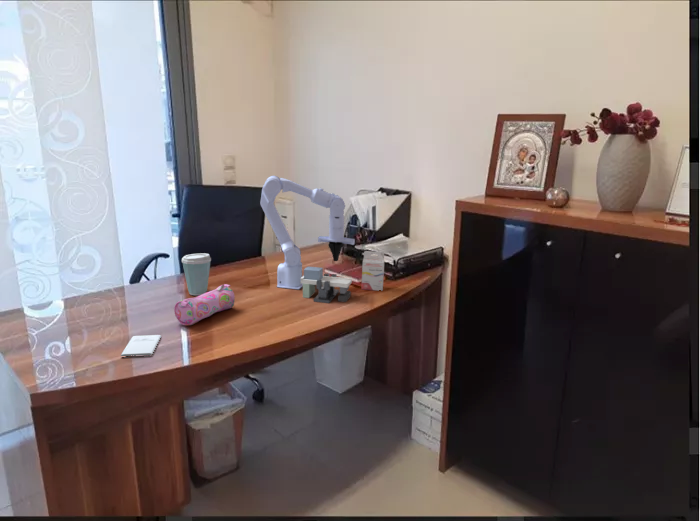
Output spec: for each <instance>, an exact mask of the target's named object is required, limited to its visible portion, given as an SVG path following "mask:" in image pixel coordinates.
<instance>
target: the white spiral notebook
mask: <svg viewBox="0 0 700 521" xmlns="http://www.w3.org/2000/svg"><path fill="white" fill-rule="evenodd" d="M160 338H162V335H160V334H151V335H148V334H146V335H133V336H132V337H131V338H130V339H129V341H128V343H127V344H126V347H125V348H124V349H123V351H122V352H121V355H120V357H121V356H131V355H132V356H133V355H134V356H136V355H152V354H153V355H154V353H155V351H156V349H157V347H158V345H159V343H160V341H161V339H160ZM159 340H160V341H159ZM158 342H159V343H158ZM157 344H158V345H157ZM156 346H157V347H156ZM155 348H156V349H155ZM154 350H155V351H154ZM153 352H154V353H153ZM153 355H152V356H153Z"/></svg>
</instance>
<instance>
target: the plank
mask: <svg viewBox="0 0 700 521" xmlns="http://www.w3.org/2000/svg"><path fill="white" fill-rule="evenodd" d="M321 280H322V287H321V289H324V282H325V281H330V286H334V288H339V294H341V293H343V294H345V293H346V292H347V291H349V289H350V285H351V284H352V282H353V278H351V277H350V278H348V277H342V276H336V277H331V276H330V275H329V276H324V275H323V278H322V279H321ZM301 283H303V284H313V285H315V286H317V280H309V279H304V275H302V277H301Z"/></svg>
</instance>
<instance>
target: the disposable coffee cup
mask: <svg viewBox="0 0 700 521" xmlns="http://www.w3.org/2000/svg"><path fill="white" fill-rule="evenodd" d="M211 261H212V257H211V256H210V254H209V253H205V252H204V253H201V252H200V253H191V254H185V255H184V256H183V257H182V258H181V263H182V266H183V267H182V268H183V272H184V277H185V281H186V282H185V283H186V285H187V290H188V293H189V295H190V296H195V297H197V296H200V295H202V294H204V293H206V292H208V288H209V286H208V285H209V277H210V268H211Z"/></svg>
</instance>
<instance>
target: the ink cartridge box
mask: <svg viewBox="0 0 700 521" xmlns="http://www.w3.org/2000/svg"><path fill="white" fill-rule="evenodd" d="M361 267H362V269H361V270H362V271H361V290H364V291H365V290H368V291H379V290H381V292H382V291H383V290H384V288H383V287H384V277H385V276H384V275H385V252H383V251H370V250H369V251H367V250H365V251H364V252H363V259H362V266H361Z"/></svg>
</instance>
